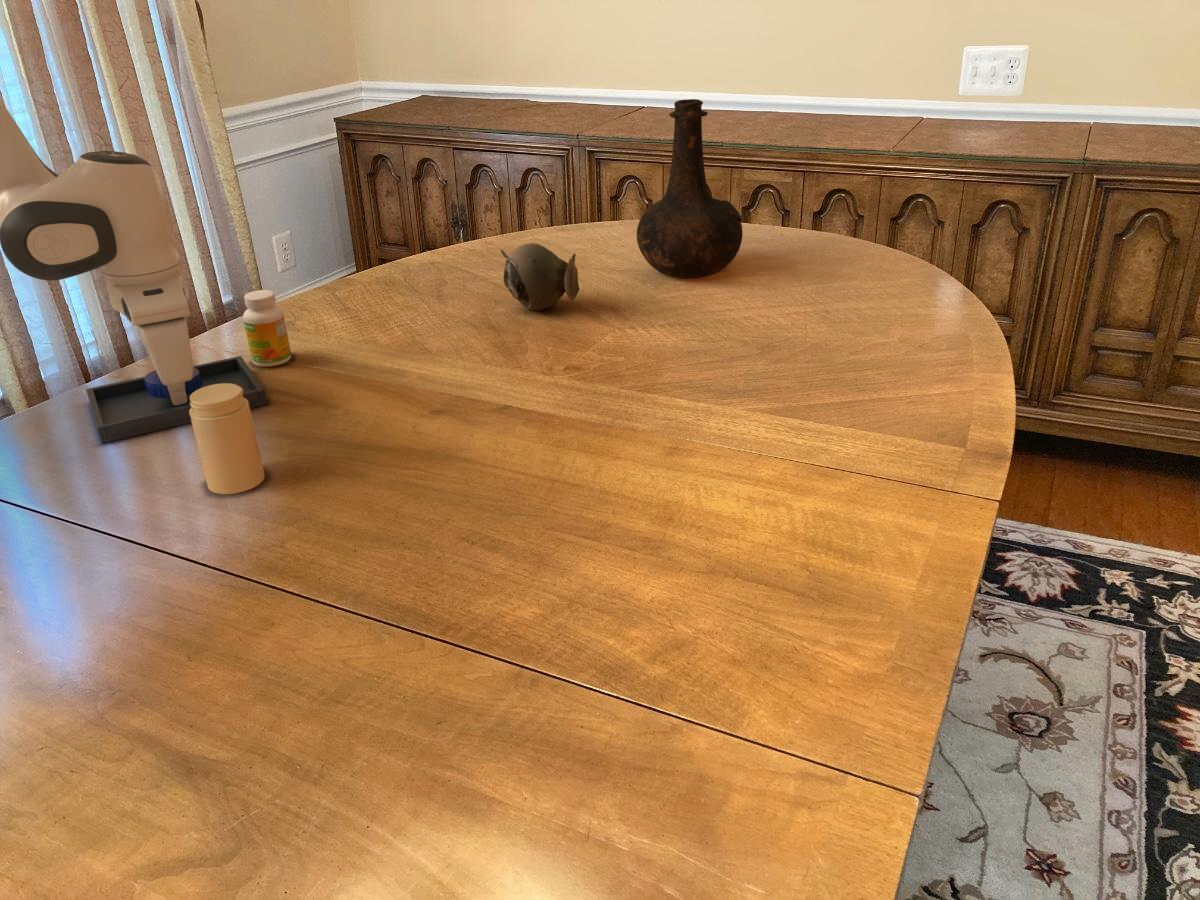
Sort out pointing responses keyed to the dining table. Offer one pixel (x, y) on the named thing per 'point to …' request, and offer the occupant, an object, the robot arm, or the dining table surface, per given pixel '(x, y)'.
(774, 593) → the dining table surface
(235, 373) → the tray
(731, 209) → the glass bottle
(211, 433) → the jar
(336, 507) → the dining table surface
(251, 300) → the supplement bottle
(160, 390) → the lid
